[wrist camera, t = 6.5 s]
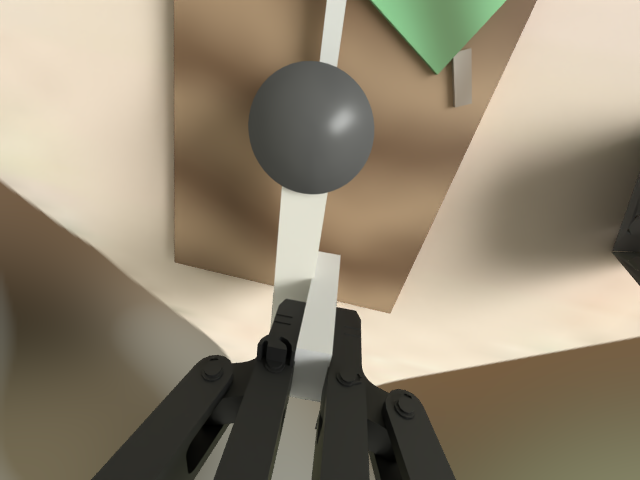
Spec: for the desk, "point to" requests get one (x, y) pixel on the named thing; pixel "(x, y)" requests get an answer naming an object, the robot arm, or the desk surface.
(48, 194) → the desk surface
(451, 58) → the board
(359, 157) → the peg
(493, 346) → the desk surface
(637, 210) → the electrical switch
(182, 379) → the robot arm
